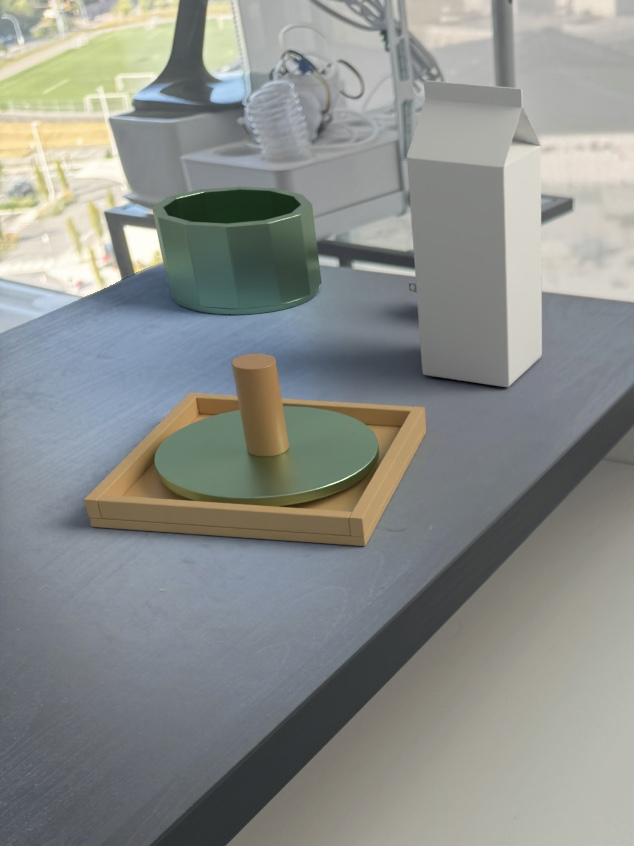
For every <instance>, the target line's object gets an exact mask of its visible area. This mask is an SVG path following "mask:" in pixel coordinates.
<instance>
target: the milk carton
mask: <svg viewBox="0 0 634 846" xmlns="http://www.w3.org/2000/svg"><path fill="white" fill-rule="evenodd" d="M423 90H424V91H423V92H424V101H423V103H422V105H421V106H422V107H421V110H420V113H419V116H418V119H417V122H416V126H415V129H414V131H413V132H414V133H413V134H412V138H411V142H410V145H409V148H408V151H407V154H406V163H407V177H408V190H409V191H408V193H409V206H410V218H411V235H412V247H413V248H412V249H413V261H414V272H415V273H414V275H415V283H416V290H417V293H416V303H417V314H418V315H417V316H418V330H419V341H420V342H419V343H420V356H421V370H422V374H423V375H424V376H429V377H436V378H442V379H449V380H456V381H463V382H469V383H476V384H482V385H488V386H496V387H503V388H509V387H510V386H512V385H513V384H514V383H515V382H516V381H517V380H518V379H519V378H520V377H521V376H522V375H523V374H524V373H526V371H528V369H530V368H531V367H532V366H533V365H534V364H535V363H536V362H537V361H538V360H539V359H540V358H541V357H542V356H543V319H542V318H543V309H542V308H543V301H542V297H543V295H542V291H543V289H542V288H543V287H542V286H543V285H542V284H543V283H542V282H543V281H542V279H543V278H542V154H541V152H542V151H541V150H542V149H541V147H542V146H541V143H540V141H539V138H538V136H537V134H536V132H535V130H534V128H533V125H532V123H531V121H530V119H529V117H528V115H527V113H526V111H525V108H524V105H523V104H524V103H523V102H524V98H523V88H520V87H508V86H497V85H487V84H486V85H485V84H474V83H462V82H451V81H439V80H428V79H427V80H423Z"/></svg>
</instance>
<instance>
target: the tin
mask: <svg viewBox="0 0 634 846" xmlns="http://www.w3.org/2000/svg"><path fill="white" fill-rule="evenodd" d="M151 210H152V215H153V220H154V224H155V227H156V228H155V229H156V233H157V239H158V243H159V244H158V245H159V249H160V253H161V258H162V264H163V268H164V273H165V278H166V283H167V287H168V289H169V292H170V295H171V298H172V300H173V302H175V303H176V304H177V305H178V306H180V307H183V308H185V309H188V310H191V311H195V312H199V313H206V314H213V315H229V314H230V316H231V315H232V316H233V315H257V314H264V313H273V312H278V311H282V310H287V309H290V308H291V309H292V308H293V307H297V306H300V305H303V304H304V303H307V302H309V301H311V300H312V299H313V298H312V297H314V296H315V295H316V293H317V292H318V290H319V286H320V285H321V284H322V275H321V266H320V258H319V250H318V249H319V248H318V242H317V241H318V240H317V233H316V226H315V225H316V224H315V216H314V210H313V204H312V203H311V202H310V200H309V199H307V197H306V196H305V195H304V194H302V193H298V192H294V191H290V190H284V189H280V188H276V187H257V186H241V185H240V186H228V187H227V186H226V187H213V188H203V189H202V188H200V189H196V190H191V191H187V192H184V193H179V194H174V195H169V196H167V197H166V198H164V199H162V200H160V201H159V202H157V203H156V204H155V205H153V206H152V207H151ZM319 291H320V290H319ZM318 293H319V292H318ZM316 296H317V295H316ZM316 296H315V297H316ZM315 297H314V298H315ZM311 298H312V299H311ZM310 299H311V300H310ZM308 300H309V301H308Z"/></svg>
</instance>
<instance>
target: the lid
mask: <svg viewBox="0 0 634 846" xmlns="http://www.w3.org/2000/svg"><path fill="white" fill-rule="evenodd" d="M231 368H232V374H233V380H234V386H235V391H236V396H237V397H238V403H239V408H240V410H237V411H231V412H227V413H222V414H218V415H215V416H211V417H208V418H205V419H202V420H199V421H196V422H194V423H192V424H189V425H187V426H185V427H183V428H181V429H179V430H178V431H176V432H175V433H173V434H172V435H170V436H169V437H168V438H167V439H165V440H164V441H163V442H162V444H161V445H160V446H159V447H158V449H157V451H156V453H155V459H154V462H155V467H156V471H157V475H158V477H159V479H160V481H161V482H162V483H163V484H164V485H165V486H166V487H167V488H169V489H170V490H171V491H173V492H174V493H176V494H178V495H180V496H182V497H185V498H188V499H191V500H194V501H201V502H216V503H230V504H245V505H259V506H274V507H275V506H284V505H291V504H297V503H302V502H307V501H311V500H315V499H319V498H323V497H326V496H329V495H332V494H335V493H337V492H339V491H342V490H344V489H346V488H348V487H350V486H352V485H354V484H356V483H357V482H359V481H360V480H362V479H363V478H365V477H366V476H367V475H368V474H369V473H370V472H371V471H372V470H373V468H374V467H375V466H376V464H377V461H378V459H379V444H378V439H377V437H376V435H375V433H374V432H373V431H372V430H371V429H370V428H369V427H368V426H367V425H365V424H364V423H362V422H361V421H359V420H357V419H355V418H352V417H350V416H347V415H344V414H341V413H338V412H334V411H329V410H324V409H318V408H309V407H295V406H283V404H282V399H283V397H282V391H281V386H280V385H281V384H280V379H279V378H280V377H279V371H278V366H277V360H276V358H275V357H274V356H273V355H270V354H266V353H247V354H244V355H243V354H242V355H240V356H237V357H235V358H233V359H232V361H231Z"/></svg>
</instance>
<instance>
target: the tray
mask: <svg viewBox="0 0 634 846" xmlns="http://www.w3.org/2000/svg"><path fill="white" fill-rule="evenodd" d="M282 404H283V406H295V407H309V408H318V409H324V410H329V411H334V412H338V413H341V414H344V415H347V416H350V417H352V418H355V419H357V420H359V421H361V422H362V423H364V424H365V425H367V426H368V427H369V428H370V429H371V430H372V431H373V432H374V433H375V435H376V437H377V439H378V444H379V459H378V461H377V464H376V466H375V467H374V468H373V470H372V471H371V472H370V473H369V474H368V475H367V476H366V477H365V478H363V479H362V480H360V481H359V482H357V483H356V484H354V485H352V486H350V487H348V488H346V489H344V490H342V491H339V492H337V493H335V494H332V495H329V496H326V497H323V498H319V499H315V500H311V501H307V502H302V503H297V504H291V505H284V506H275V507H274V506H259V505H245V504H230V503H216V502H201V501H194V500H191V499H188V498H185V497H182V496H180V495H178V494H176V493H174V492H173V491H171V490H170V489H169V488H167V487H166V486H165V485H164V484H163V483H162V482H161V481H160V479H159V477H158V475H157V471H156V467H155V462H154V459H155V453H156V451H157V449H158V447H159V446H160V445H161V444H162V442H163V441H164V440H165V439H167V438H168V437H169V436H170V435H172V434H173V433H175V432H176V431H178V430H179V429H181V428H183V427H185V426H187V425H189V424H192V423H194V422H196V421H199V420H202V419H205V418H208V417H211V416H215V415H218V414H222V413H227V412H231V411H237V410H240V408H239V403H238V397H237V395H231V394H217V393H216V394H215V393H201V392H200V393H199V392H188V393H187V394H186V395H185V396H184V397H183V398H182V399H181V400H180V401H179V402H178V403H177V404H176V405H175V406H174V407H173V408H172V410H170V411H169V413H168V414H167V415H165V416H164V418H162V419H161V420H160V422H158V424H157V425H155V427H154V428H153V429H151V431H150V432H149V433H148V434H147V435H146V436H144V438H143V439H142V440H141V441H140V442H139V443H138V444H136V445H135V447H134V448H133V449H132V450H131V451H130V452H129V453H128V454H127V455H126V456H125V457H124V458H123V459H122V460H121V461H120V462H119V463H118V464H117V465H116V466H115V467H114V468H113V469H112V470H111V471H110V472H109V473H108V474H107V475H106V476H105V477H104V478H103V480H101V481H100V482H99V483H98V485H97V486H95V487H94V489H92V490H91V492H90V493H88V494H87V495H86V497H84V498H83V501H84V505H85V508H86V509H85V510H86V512H87V515H88V518H89V523H90V526H91V527H92V528H103V529H116V530H130V531H131V530H132V531H145V532H158V533H171V534H173V533H175V534H189V535H203V536H213V537H214V536H215V537H229V538H230V537H231V538H245V539H258V540H273V541H275V540H276V541H285V542H298V543H299V542H301V543H314V544H315V543H316V544H328V545H340V546H341V545H343V546H344V545H345V546H356V547H357V546H358V547H366V545H367V544H368V542H369V540H370V538H371V537H372V535H373V532H374V531H375V529H376V527H377V526H378V524H379V521H380V520H381V517H382V516H383V514H384V513H385V510H386V508H387V507H388V505H389V503H390V500H392V497H393V495H394V493H395V491H397V488H398V486H399V484H400V482H401V480H402V479H403V477H404V475H405V474H406V473H405V472H406V471H407V470H408V467H409V466H410V463H411V462H412V460H413V458H414V456H415V454H416V452H417V451H418V448H419V447H420V446H421V443H422V441H423V439H424V437H425V435H426V434H427V420H426V408H425V406H410V405H409V406H408V405H392V404H377V403H376V404H375V403H360V402H346V401H345V402H344V401H343V402H342V401H327V400H313V399H312V400H311V399H295V398H282Z"/></svg>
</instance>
